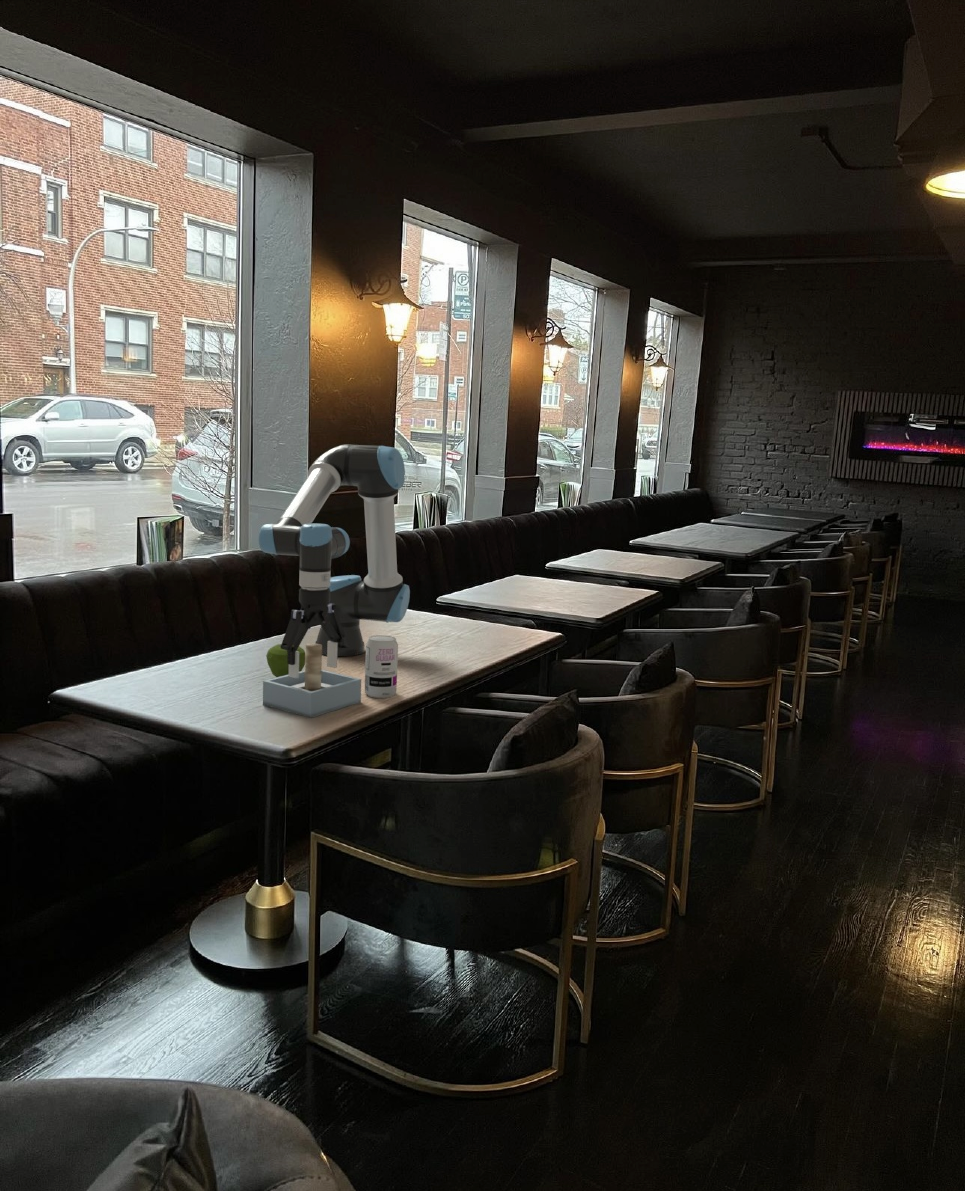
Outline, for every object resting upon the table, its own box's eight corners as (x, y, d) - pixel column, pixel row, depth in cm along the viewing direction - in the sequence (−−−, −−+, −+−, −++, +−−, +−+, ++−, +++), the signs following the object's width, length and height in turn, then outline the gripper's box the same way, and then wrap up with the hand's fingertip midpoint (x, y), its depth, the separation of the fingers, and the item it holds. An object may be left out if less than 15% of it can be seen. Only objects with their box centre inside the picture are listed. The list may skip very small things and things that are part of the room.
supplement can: (380, 688, 257) (382, 633, 254) (402, 695, 252) (404, 638, 249) (358, 693, 250) (359, 637, 248) (380, 700, 245) (382, 643, 243)
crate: (262, 704, 237) (263, 680, 236) (313, 690, 252) (314, 668, 251) (310, 717, 228) (311, 693, 227) (360, 702, 243) (361, 679, 242)
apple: (259, 677, 262) (259, 641, 260) (293, 672, 268) (294, 637, 267) (278, 686, 254) (278, 649, 252) (313, 681, 260) (314, 645, 259)
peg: (301, 700, 239) (302, 645, 237) (312, 697, 242) (313, 642, 240) (312, 703, 237) (314, 648, 235) (324, 700, 240) (325, 645, 238)
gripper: (289, 595, 223) (288, 684, 226) (360, 583, 243) (358, 665, 247) (266, 591, 227) (265, 678, 230) (337, 580, 247) (335, 660, 251)
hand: (313, 672), depth 239 cm, fingers open, 13 cm apart
